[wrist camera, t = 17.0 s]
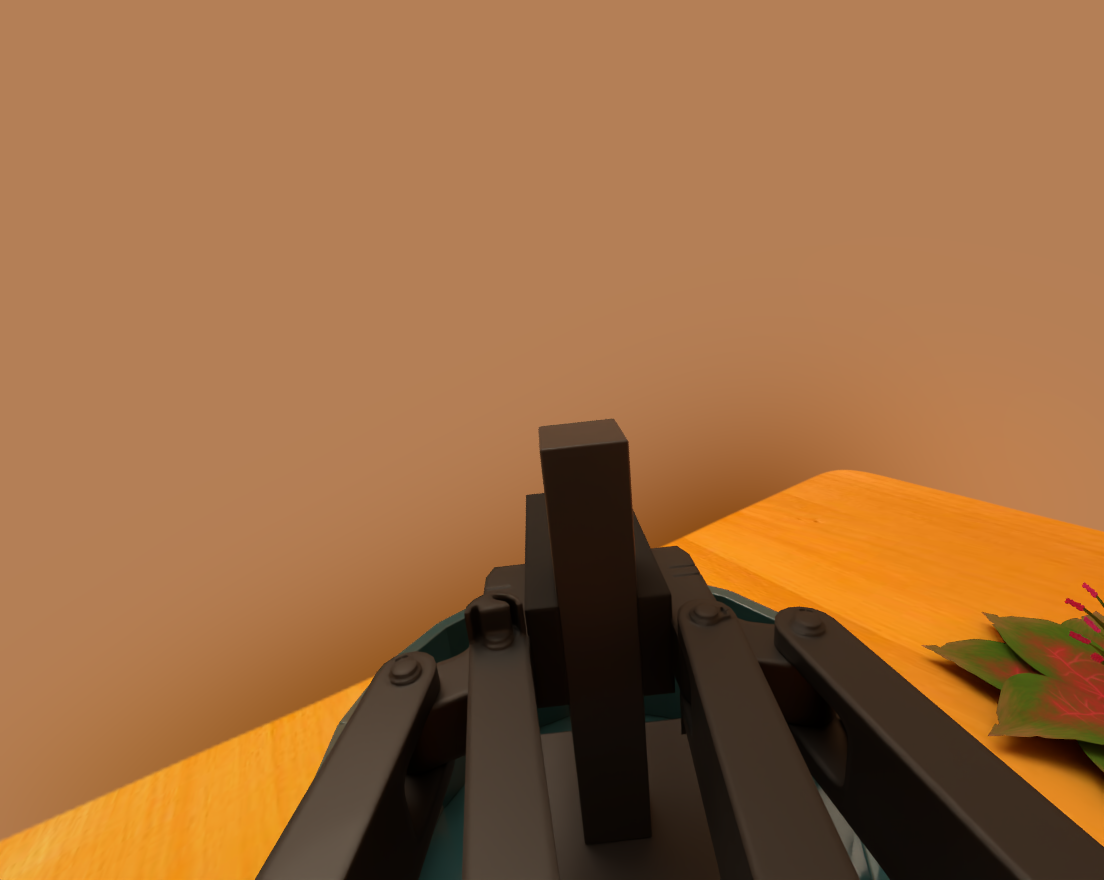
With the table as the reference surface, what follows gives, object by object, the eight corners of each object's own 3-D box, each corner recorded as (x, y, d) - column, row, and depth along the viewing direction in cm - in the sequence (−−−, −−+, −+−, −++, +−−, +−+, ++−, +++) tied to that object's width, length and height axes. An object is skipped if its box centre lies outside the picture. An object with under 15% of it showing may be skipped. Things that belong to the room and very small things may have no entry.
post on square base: (525, 1024, 12) (425, 497, 8) (526, 803, 18) (466, 415, 14) (752, 997, 13) (763, 460, 8) (686, 784, 18) (673, 392, 14)
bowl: (231, 1490, 8) (82, 1303, 6) (421, 722, 23) (394, 594, 21) (1154, 1372, 8) (1283, 1156, 6) (759, 684, 23) (762, 554, 21)
